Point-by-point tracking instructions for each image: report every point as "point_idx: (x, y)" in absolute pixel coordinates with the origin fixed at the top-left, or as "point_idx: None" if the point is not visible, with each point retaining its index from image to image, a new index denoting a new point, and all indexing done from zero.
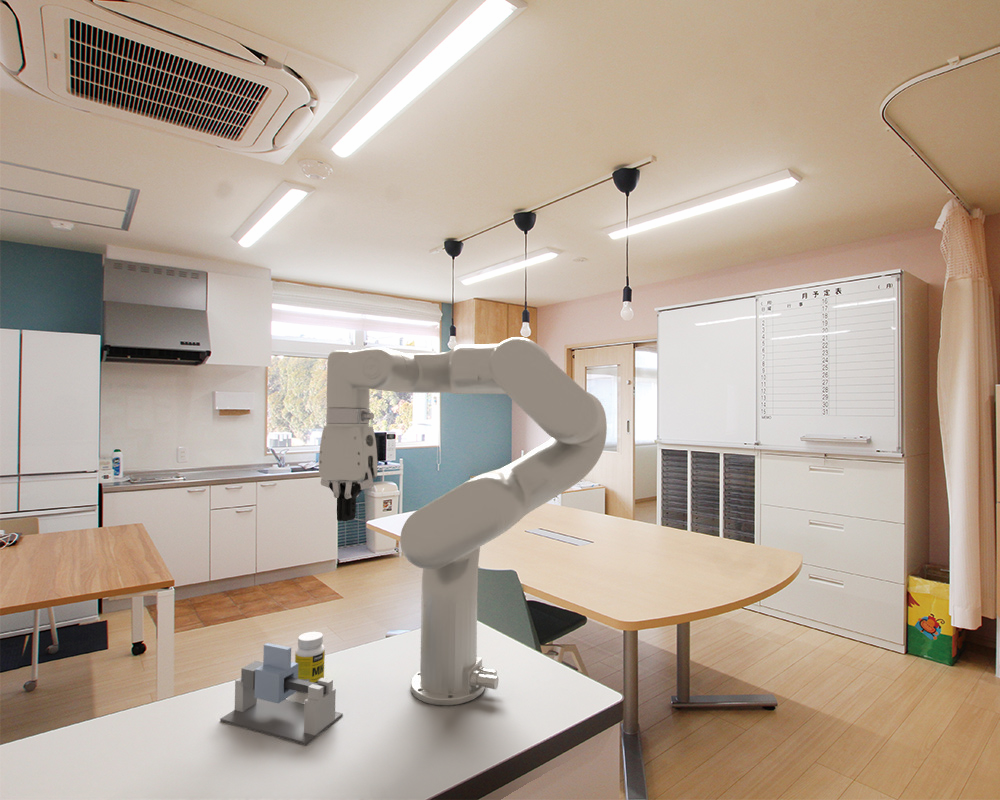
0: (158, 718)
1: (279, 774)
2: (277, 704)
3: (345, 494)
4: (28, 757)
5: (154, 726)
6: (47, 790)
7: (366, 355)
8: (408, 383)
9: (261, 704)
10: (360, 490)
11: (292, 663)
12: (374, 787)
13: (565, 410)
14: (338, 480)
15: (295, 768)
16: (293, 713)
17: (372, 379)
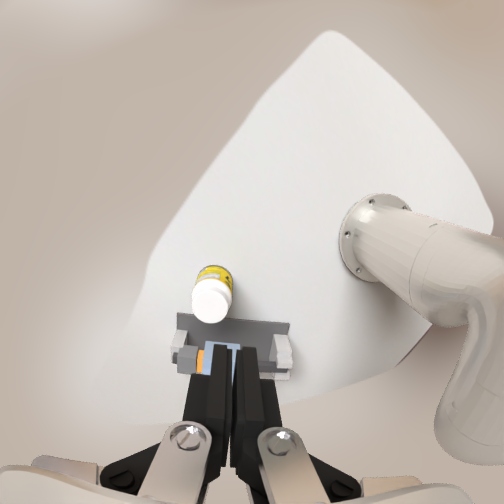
0: (123, 361)
1: (279, 393)
2: (210, 328)
3: (251, 489)
4: (99, 403)
5: (132, 370)
6: (145, 424)
7: None
8: None
9: (194, 331)
10: (330, 476)
11: (234, 364)
12: (351, 381)
13: None
14: None
15: (287, 386)
16: (239, 337)
17: None
